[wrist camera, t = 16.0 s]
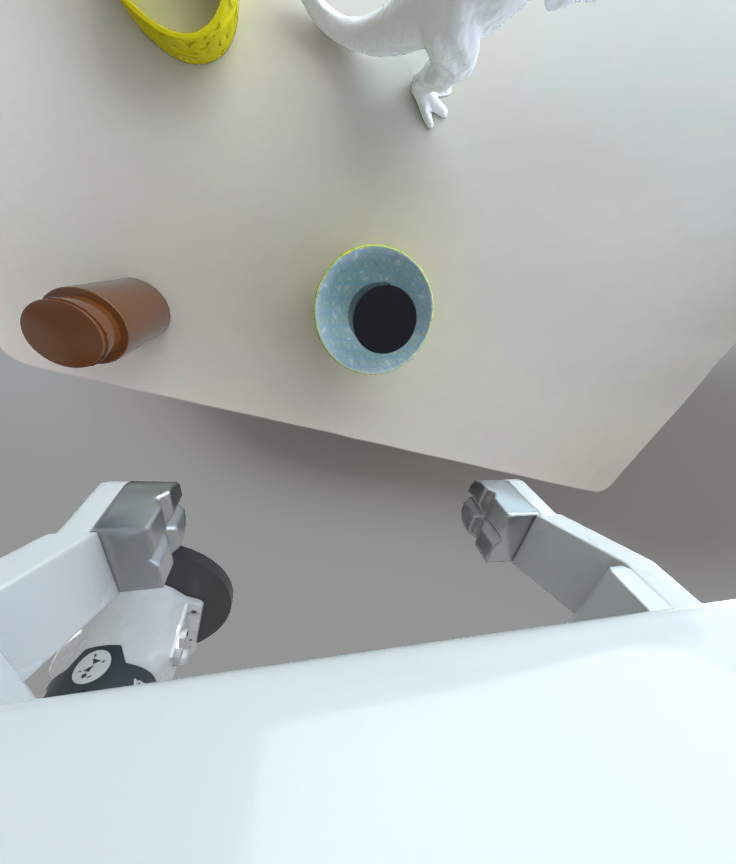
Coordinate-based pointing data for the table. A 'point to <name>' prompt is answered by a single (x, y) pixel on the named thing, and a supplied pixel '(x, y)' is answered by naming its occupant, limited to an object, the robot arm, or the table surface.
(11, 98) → the table surface
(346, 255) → the bowl
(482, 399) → the table surface
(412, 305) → the lid
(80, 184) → the table surface
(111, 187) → the table surface
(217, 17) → the bracelet
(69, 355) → the jar
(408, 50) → the dinosaur figurine
